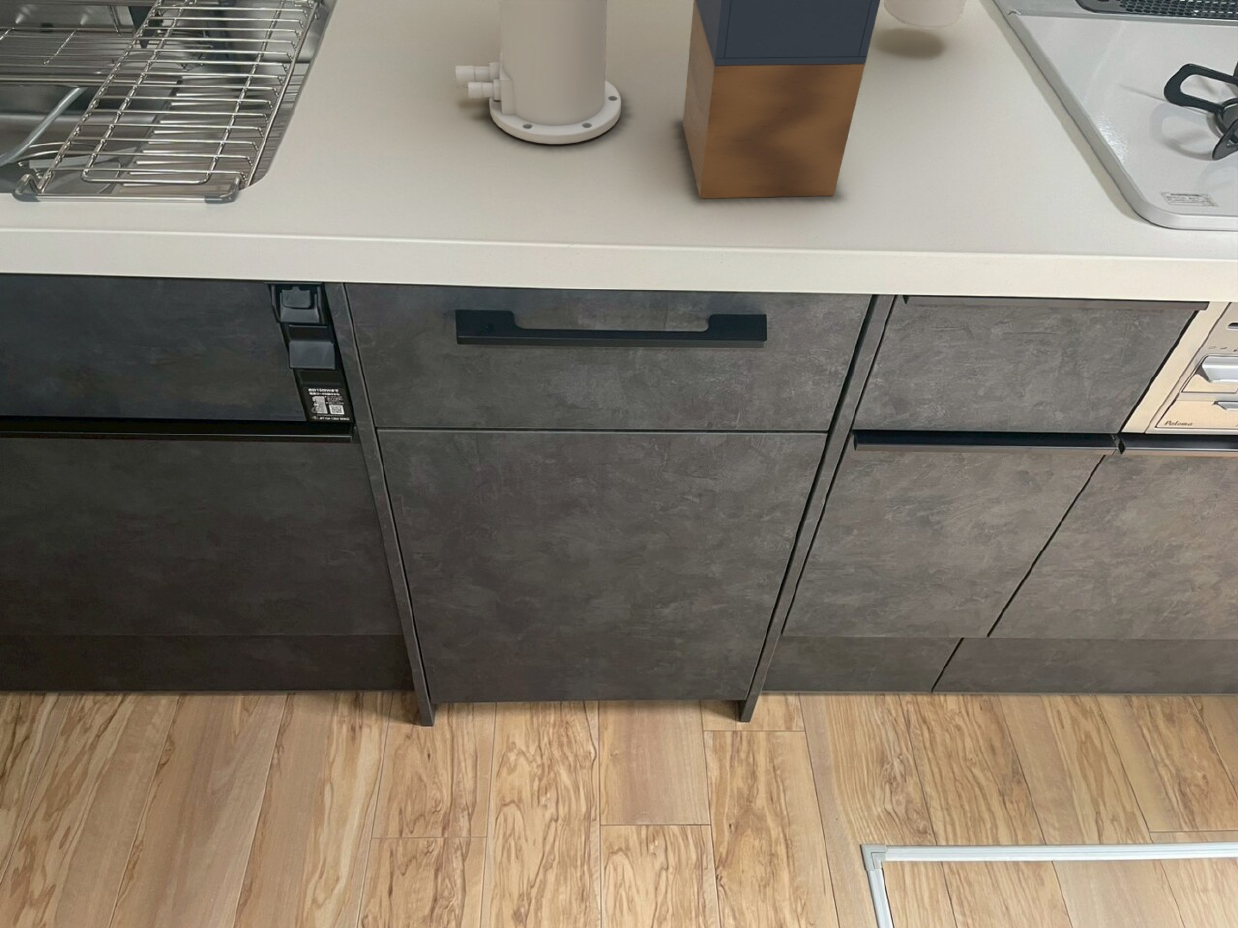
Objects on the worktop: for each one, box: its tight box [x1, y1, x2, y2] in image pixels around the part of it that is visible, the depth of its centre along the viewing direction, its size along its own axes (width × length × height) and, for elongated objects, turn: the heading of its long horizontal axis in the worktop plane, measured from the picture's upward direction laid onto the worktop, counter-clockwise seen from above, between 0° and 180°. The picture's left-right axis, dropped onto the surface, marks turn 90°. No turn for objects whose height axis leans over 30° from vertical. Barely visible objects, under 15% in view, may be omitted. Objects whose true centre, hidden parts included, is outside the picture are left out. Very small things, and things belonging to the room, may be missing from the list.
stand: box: [682, 0, 866, 199], centre depth 82 cm, size 12×12×12 cm
